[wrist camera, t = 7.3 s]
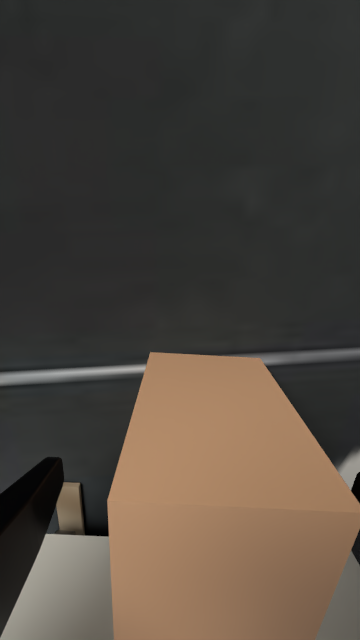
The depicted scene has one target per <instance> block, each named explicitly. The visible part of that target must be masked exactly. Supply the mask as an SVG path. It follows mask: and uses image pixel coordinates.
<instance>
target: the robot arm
mask: <svg viewBox="0 0 360 640" xmlns="http://www.w3.org/2000/svg"><path fill="white" fill-rule="evenodd" d="M63 483H64V472H63V464H62V459H61V458H59V457H47V458H45V459H43V460H42V461H41V462H40V463H38V464H37V465H36V466H35V467H33V468H32V469H31V470H30V471H28V472H27V473H26V474H25V475H23V476H22V477H21V478H20V479H18V480H17V481H16V482H15V483H13V484H12V485H11V486H10V487H8V488H7V489H6V490H5V491H3V492H2V493H1V494H0V637H1V635H2V633H3V631H4V629H5V626H6V624H7V622H8V620H9V618H10V615H11V613H12V611H13V609H14V607H15V604H16V602H17V600H18V598H19V595H20V593H21V591H22V589H23V587H24V584H25V582H26V580H27V578H28V576H29V573H30V571H31V569H32V567H33V564H34V562H35V560H36V558H37V555H38V553H39V551H40V548H41V546H42V543H43V540H44V538H45V535H46V532H47V529H48V526H49V523H50V521H51V518H52V515H53V512H54V509H55V507H56V504H57V501H58V498H59V495H60V493H61V490H62V487H63ZM351 492H352V493H353V495H354V496H355V498H356V499H357V501H358V502H359V503H360V472H359V473H358V474H357V476H356V478H355V481H354V484H353V487H352V490H351Z"/></svg>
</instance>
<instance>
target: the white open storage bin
mask: <svg viewBox="0 0 360 640" xmlns="http://www.w3.org/2000/svg"><path fill="white" fill-rule="evenodd" d="M0 640H114V631H113V610H112V589H111V567H110V546H109V537H106V536H83V535H76V532H75V531H67V530H57V531H56V532H55V533H54V534H46V535H45V538H44V540H43V543H42V546H41V548H40V551H39V553H38V555H37V558H36V560H35V562H34V564H33V567H32V569H31V571H30V573H29V576H28V578H27V580H26V582H25V584H24V587H23V589H22V591H21V593H20V595H19V598H18V600H17V602H16V604H15V607H14V609H13V611H12V613H11V615H10V618H9V620H8V622H7V624H6V626H5V629H4V631H3V633H2V635H1V637H0ZM315 640H360V565H359V564H358V562H357V560H356V558H355V556H354V555H353V553H352V551H351V552H350V554H349V557H348V559H347V562H346V564H345V566H344V569H343V571H342V574H341V576H340V579H339V581H338V584H337V586H336V589H335V591H334V594H333V596H332V599H331V601H330V604H329V606H328V609H327V611H326V614H325V616H324V619H323V621H322V624H321V626H320V628H319V631H318V633H317V636H316V638H315Z"/></svg>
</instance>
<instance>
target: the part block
mask: <svg viewBox="0 0 360 640" xmlns="http://www.w3.org/2000/svg"><path fill="white" fill-rule="evenodd" d="M107 504H108V525H109V546H110V567H111V589H112V610H113V631H114V640H315V638H316V636H317V633H318V631H319V628H320V626H321V624H322V621H323V619H324V616H325V614H326V611H327V609H328V606H329V604H330V601H331V599H332V596H333V594H334V591H335V589H336V586H337V584H338V581H339V579H340V576H341V574H342V571H343V569H344V566H345V564H346V562H347V559H348V557H349V554H350V552H351V549H352V547H353V544H354V542H355V539H356V537H357V534H358V532H359V529H360V503H359V502H358V501H357V499H356V498H355V496H354V495H353V493H352V492H351V490H350V489H349V487H348V486H347V484H346V483H345V482H344V480H343V479H342V477H341V476H340V474H339V473H338V471H337V470H336V468H335V467H334V466H333V464H332V463H331V461H330V460H329V458H328V457H327V455H326V454H325V452H324V451H323V449H322V448H321V447H320V445H319V444H318V442H317V441H316V439H315V438H314V436H313V435H312V433H311V432H310V431H309V429H308V428H307V426H306V425H305V423H304V422H303V420H302V419H301V417H300V416H299V414H298V413H297V412H296V410H295V409H294V407H293V406H292V404H291V403H290V401H289V400H288V398H287V397H286V395H285V394H284V393H283V391H282V390H281V388H280V387H279V385H278V384H277V382H276V381H275V379H274V378H273V377H272V375H271V374H270V372H269V371H268V369H267V368H266V366H265V365H264V363H263V362H262V360H261V359H260V358H246V357H227V356H208V355H190V354H171V353H152V352H150V355H149V359H148V362H147V366H146V369H145V373H144V376H143V380H142V383H141V386H140V390H139V393H138V397H137V400H136V404H135V407H134V411H133V414H132V417H131V421H130V424H129V428H128V431H127V435H126V438H125V442H124V445H123V448H122V452H121V455H120V459H119V462H118V466H117V469H116V473H115V476H114V479H113V483H112V486H111V490H110V493H109V497H108V500H107Z"/></svg>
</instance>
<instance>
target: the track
mask: <svg viewBox="0 0 360 640" xmlns="http://www.w3.org/2000/svg"><path fill="white" fill-rule="evenodd" d="M56 505H57V513H58V520H59V527H60V530H67V531H75V532H76V535H83V536H85V529H84V519H83V508H82V498H81V487H80V483H70V482H64V483H63V487H62V490H61V493H60V495H59V498H58V501H57V504H56Z"/></svg>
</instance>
